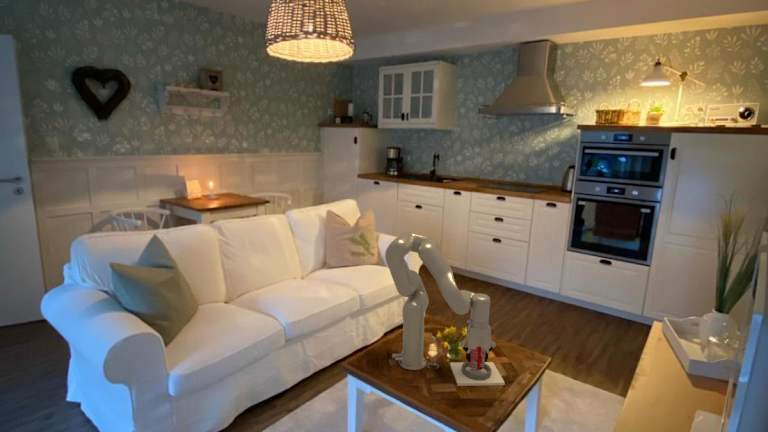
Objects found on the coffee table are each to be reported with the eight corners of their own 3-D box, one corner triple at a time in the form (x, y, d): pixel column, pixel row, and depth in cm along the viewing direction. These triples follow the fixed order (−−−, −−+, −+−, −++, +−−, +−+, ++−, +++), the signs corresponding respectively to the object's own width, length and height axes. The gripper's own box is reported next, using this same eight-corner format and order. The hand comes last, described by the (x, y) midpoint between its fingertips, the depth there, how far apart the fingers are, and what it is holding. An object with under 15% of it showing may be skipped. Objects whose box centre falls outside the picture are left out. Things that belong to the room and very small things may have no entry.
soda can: (483, 363, 181) (484, 338, 179) (485, 372, 174) (487, 346, 172) (467, 362, 182) (468, 337, 180) (468, 371, 175) (470, 345, 173)
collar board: (457, 385, 170) (458, 378, 170) (449, 364, 186) (450, 358, 185) (504, 385, 171) (505, 378, 171) (492, 364, 187) (493, 358, 186)
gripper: (461, 326, 170) (459, 365, 173) (502, 326, 171) (498, 365, 174) (457, 318, 177) (455, 356, 181) (496, 318, 178) (493, 356, 182)
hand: (476, 360), depth 177 cm, fingers closed on soda can, 6 cm apart
